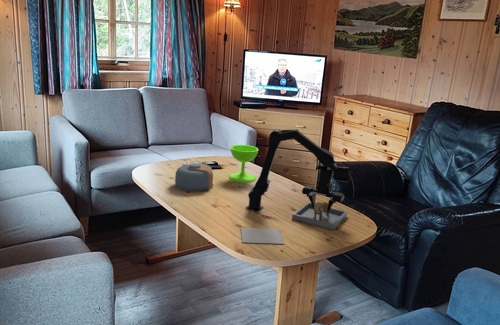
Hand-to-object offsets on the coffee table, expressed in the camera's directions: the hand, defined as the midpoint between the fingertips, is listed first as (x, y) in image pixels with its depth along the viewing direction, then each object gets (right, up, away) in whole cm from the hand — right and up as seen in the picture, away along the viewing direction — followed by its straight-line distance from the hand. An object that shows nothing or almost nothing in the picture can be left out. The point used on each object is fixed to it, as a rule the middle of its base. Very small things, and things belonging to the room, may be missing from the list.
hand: (320, 211), depth 208 cm
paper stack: (-25, -7, -19) cm, 32 cm away
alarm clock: (-63, +10, +31) cm, 71 cm away
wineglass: (-38, +13, +51) cm, 65 cm away
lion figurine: (0, -3, 0) cm, 3 cm away
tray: (0, -3, +1) cm, 4 cm away
